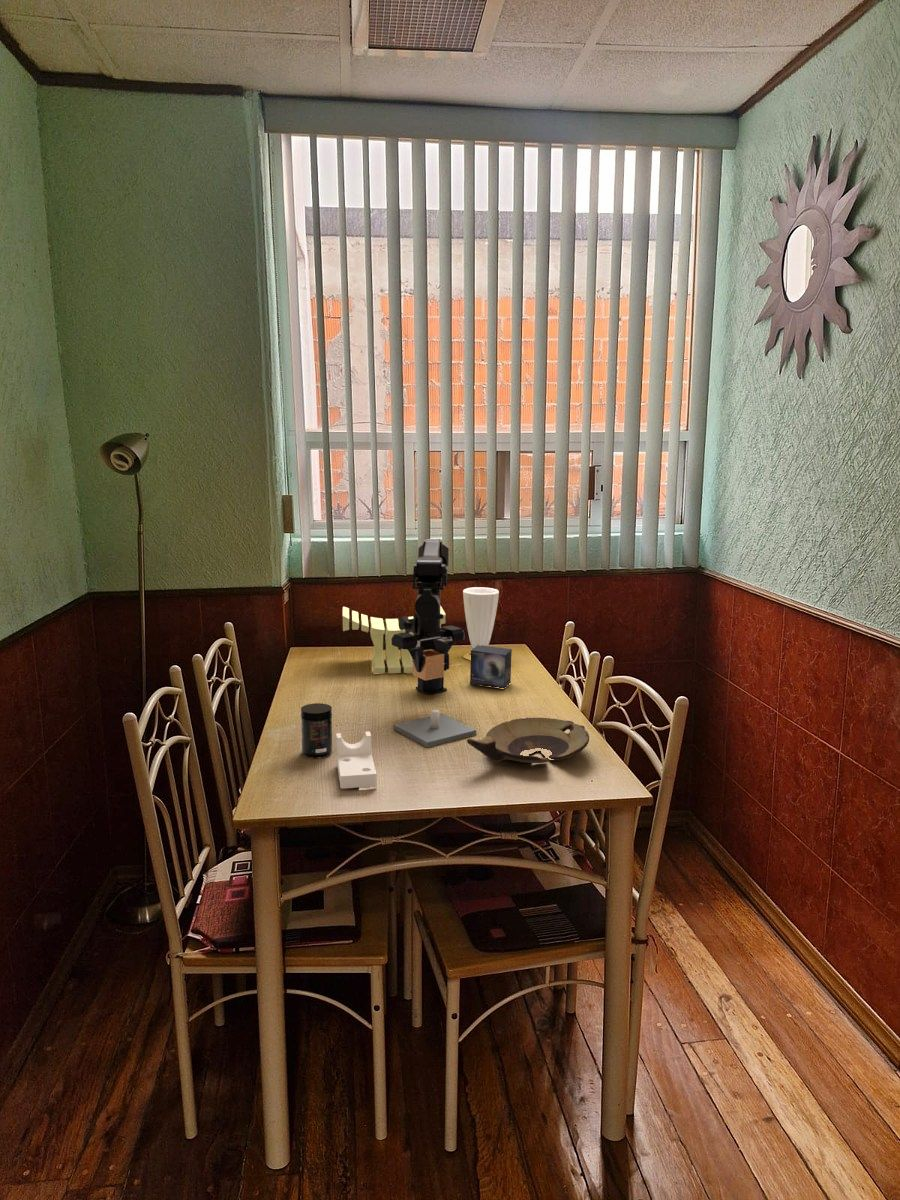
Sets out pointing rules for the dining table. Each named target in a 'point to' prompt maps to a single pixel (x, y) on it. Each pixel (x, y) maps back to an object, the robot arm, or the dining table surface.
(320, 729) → the supplement container
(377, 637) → the slatted curved stool
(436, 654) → the hollow wooden cube
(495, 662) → the small box
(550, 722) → the oil lamp
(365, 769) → the bracket
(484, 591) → the cup
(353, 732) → the dining table surface
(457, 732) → the stand
